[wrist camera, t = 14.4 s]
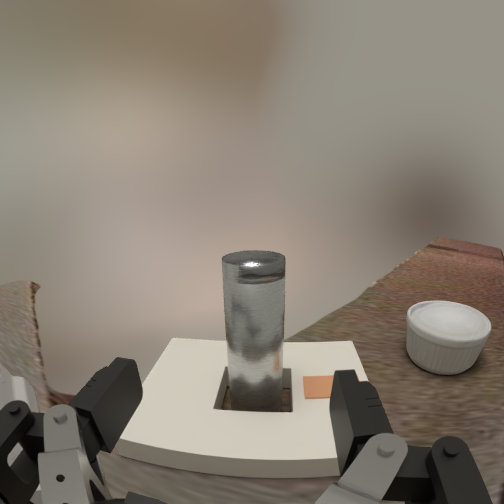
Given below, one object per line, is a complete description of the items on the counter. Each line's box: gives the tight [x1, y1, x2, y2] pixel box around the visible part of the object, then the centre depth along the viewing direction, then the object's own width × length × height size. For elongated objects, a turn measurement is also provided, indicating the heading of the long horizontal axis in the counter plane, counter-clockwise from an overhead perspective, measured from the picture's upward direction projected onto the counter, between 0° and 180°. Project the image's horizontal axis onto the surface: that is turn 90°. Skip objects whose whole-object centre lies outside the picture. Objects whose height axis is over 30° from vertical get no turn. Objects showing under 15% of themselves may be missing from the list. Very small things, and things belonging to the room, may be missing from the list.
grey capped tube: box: [222, 251, 285, 412], centre depth 22 cm, size 4×4×14 cm
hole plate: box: [115, 338, 368, 478], centre depth 24 cm, size 20×16×3 cm
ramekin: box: [406, 301, 491, 375], centre depth 28 cm, size 11×11×5 cm
